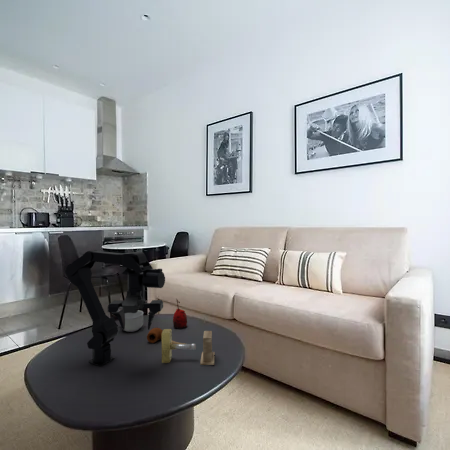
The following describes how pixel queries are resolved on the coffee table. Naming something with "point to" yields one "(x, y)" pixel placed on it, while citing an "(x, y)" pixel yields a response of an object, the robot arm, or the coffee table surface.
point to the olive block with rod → (171, 346)
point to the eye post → (207, 349)
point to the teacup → (133, 321)
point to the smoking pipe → (157, 336)
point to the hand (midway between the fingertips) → (136, 329)
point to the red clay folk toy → (179, 318)
